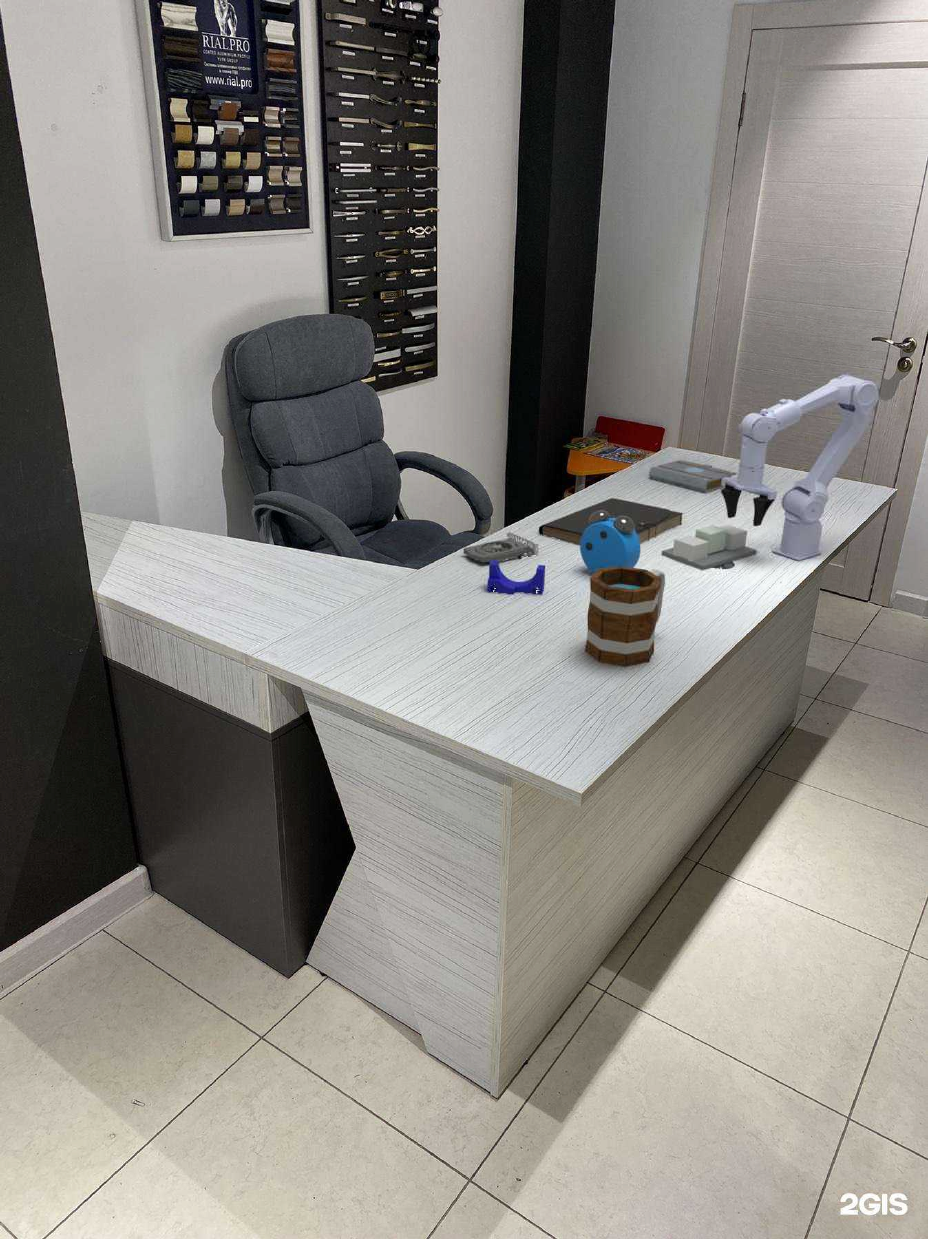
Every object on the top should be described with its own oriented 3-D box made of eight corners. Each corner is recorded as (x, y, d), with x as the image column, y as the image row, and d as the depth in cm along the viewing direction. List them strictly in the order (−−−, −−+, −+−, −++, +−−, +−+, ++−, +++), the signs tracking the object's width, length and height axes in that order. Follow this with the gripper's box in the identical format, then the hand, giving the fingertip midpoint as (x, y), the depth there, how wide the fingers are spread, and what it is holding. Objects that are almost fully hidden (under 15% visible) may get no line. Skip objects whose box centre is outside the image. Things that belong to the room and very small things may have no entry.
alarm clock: (638, 579, 219) (644, 516, 213) (623, 586, 215) (629, 522, 209) (592, 565, 227) (596, 504, 221) (576, 571, 223) (580, 510, 217)
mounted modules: (725, 539, 243) (727, 524, 241) (745, 546, 238) (747, 530, 237) (672, 554, 231) (674, 539, 230) (691, 561, 227) (693, 546, 226)
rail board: (714, 539, 246) (715, 534, 245) (756, 553, 236) (756, 548, 235) (661, 554, 234) (662, 549, 234) (702, 570, 225) (703, 564, 224)
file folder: (619, 541, 232) (538, 522, 246) (618, 557, 234) (538, 537, 248) (684, 511, 255) (607, 495, 270) (682, 526, 257) (606, 509, 271)
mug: (628, 673, 175) (635, 598, 169) (570, 650, 184) (574, 578, 178) (685, 641, 188) (694, 570, 182) (628, 622, 197) (635, 553, 191)
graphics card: (510, 530, 241) (539, 542, 232) (510, 544, 242) (539, 557, 233) (454, 542, 232) (482, 556, 223) (455, 557, 234) (482, 571, 225)
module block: (709, 544, 238) (712, 525, 236) (724, 549, 235) (726, 529, 233) (693, 548, 235) (696, 529, 233) (708, 554, 231) (710, 534, 229)
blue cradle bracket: (487, 592, 211) (487, 567, 208) (491, 585, 215) (492, 560, 212) (540, 598, 208) (542, 572, 206) (544, 590, 212) (545, 565, 210)
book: (648, 480, 299) (649, 465, 297) (680, 472, 309) (682, 456, 307) (704, 495, 285) (706, 479, 283) (735, 485, 295) (738, 470, 293)
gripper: (716, 461, 227) (709, 516, 232) (766, 475, 216) (758, 532, 222) (735, 457, 231) (728, 511, 236) (785, 470, 220) (777, 526, 226)
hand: (744, 521), depth 229 cm, fingers open, 7 cm apart
